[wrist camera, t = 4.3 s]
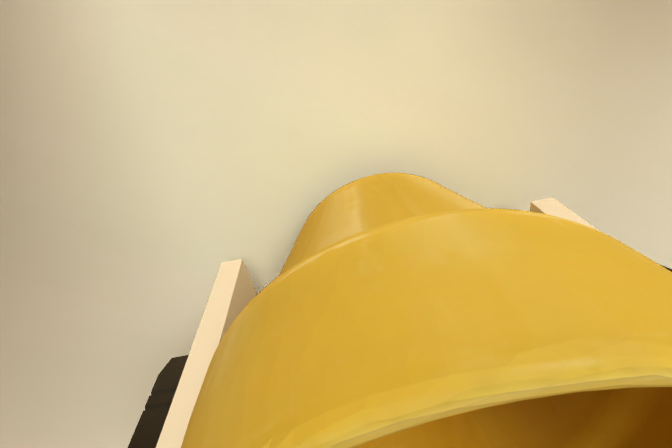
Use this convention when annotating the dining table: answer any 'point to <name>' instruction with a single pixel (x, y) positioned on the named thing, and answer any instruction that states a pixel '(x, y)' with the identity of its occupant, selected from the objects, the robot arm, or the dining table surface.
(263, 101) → the dining table surface
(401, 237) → the plant pot
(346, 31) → the dining table surface
